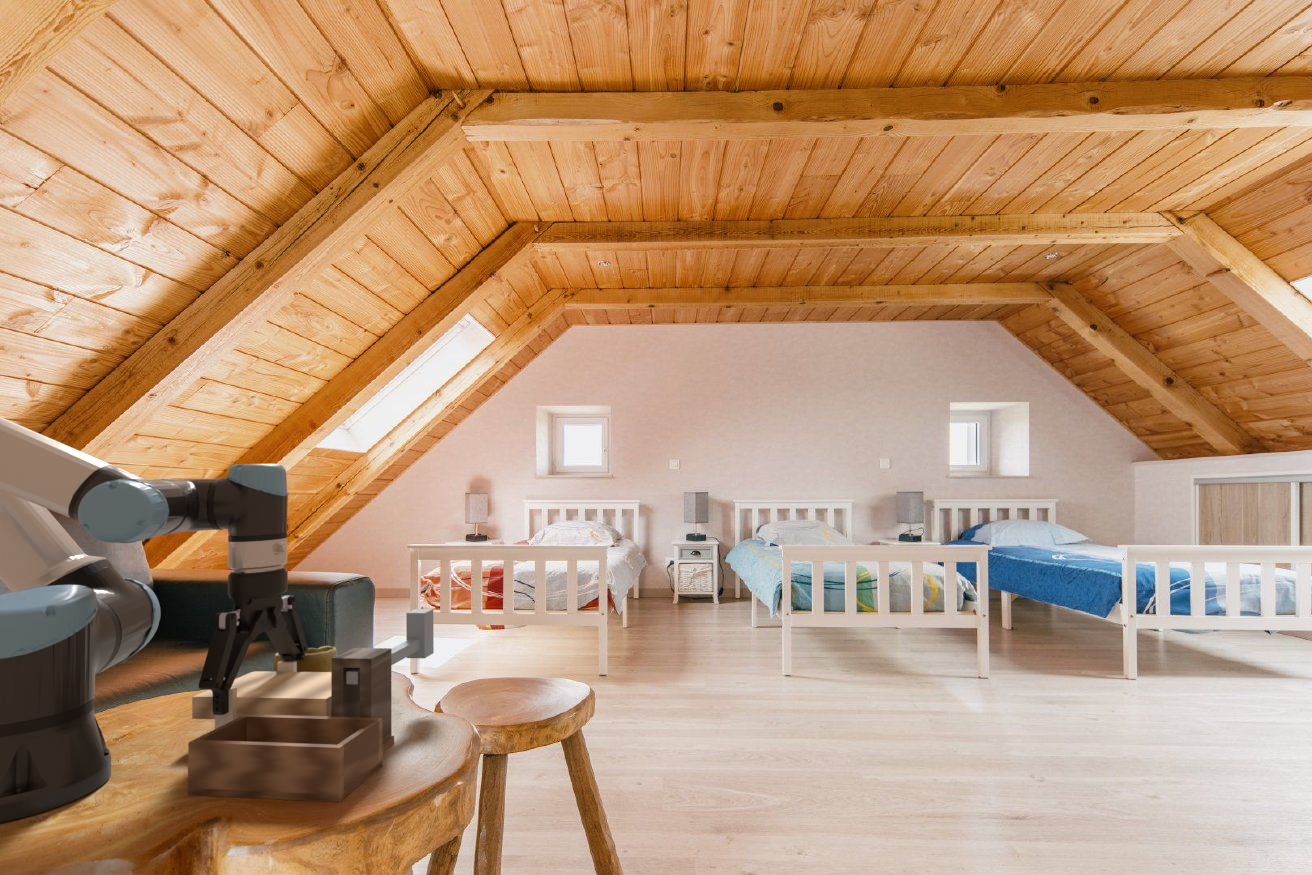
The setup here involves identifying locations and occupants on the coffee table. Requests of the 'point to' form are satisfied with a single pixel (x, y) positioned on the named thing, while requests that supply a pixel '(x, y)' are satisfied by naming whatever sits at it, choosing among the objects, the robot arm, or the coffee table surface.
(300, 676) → the lid
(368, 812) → the coffee table surface
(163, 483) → the robot arm
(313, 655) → the mug
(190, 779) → the toolbox
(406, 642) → the sliding bolt
